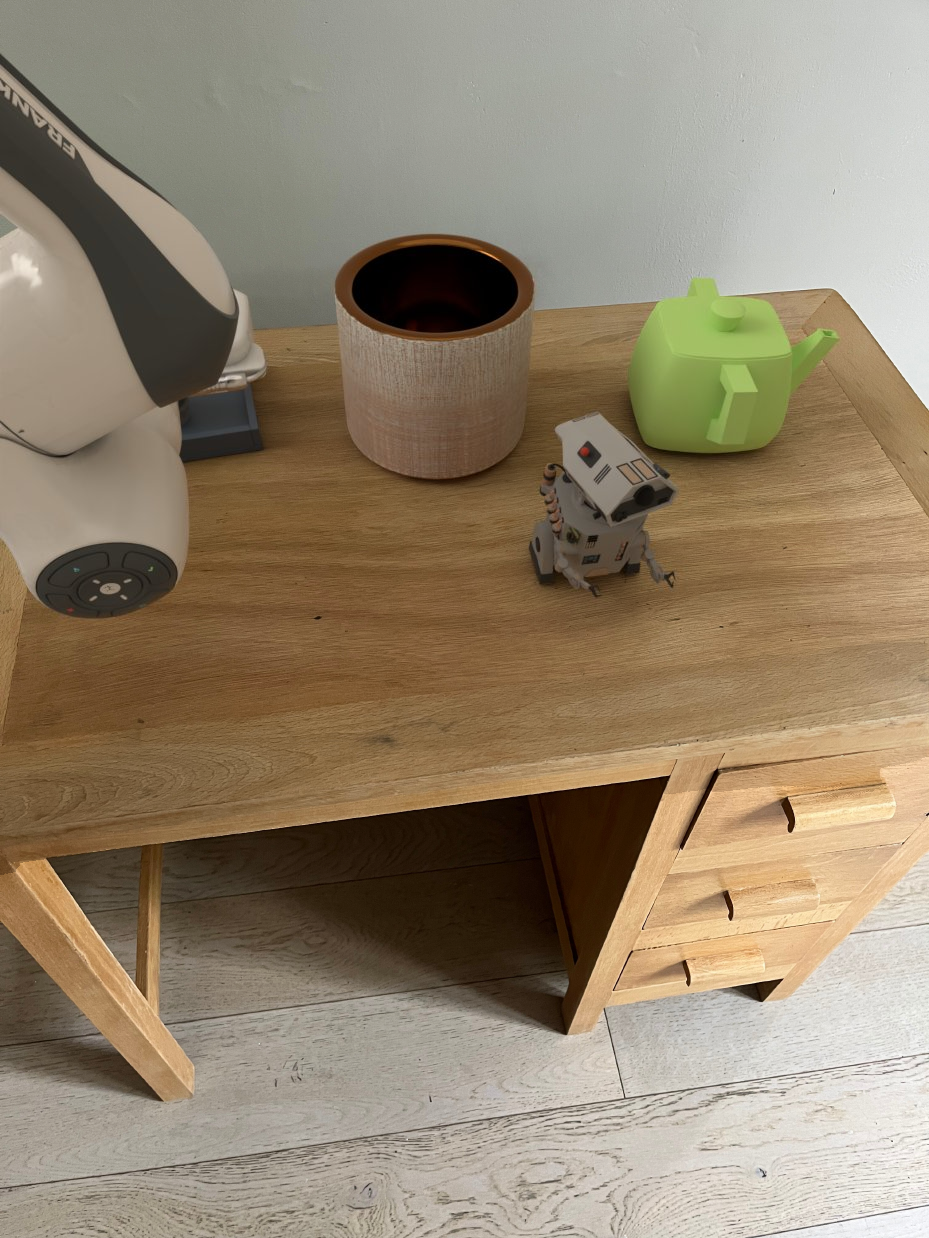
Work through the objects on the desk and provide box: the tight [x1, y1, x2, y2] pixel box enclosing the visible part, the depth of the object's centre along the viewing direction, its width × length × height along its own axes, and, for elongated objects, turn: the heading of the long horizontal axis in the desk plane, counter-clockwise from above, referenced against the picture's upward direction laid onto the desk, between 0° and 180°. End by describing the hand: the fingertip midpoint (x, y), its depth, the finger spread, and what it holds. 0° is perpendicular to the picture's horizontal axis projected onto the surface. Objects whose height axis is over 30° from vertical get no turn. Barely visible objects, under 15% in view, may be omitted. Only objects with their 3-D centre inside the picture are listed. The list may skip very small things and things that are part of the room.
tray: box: [179, 382, 264, 463], centre depth 85 cm, size 18×14×3 cm
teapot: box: [627, 277, 840, 454], centre depth 83 cm, size 18×20×13 cm
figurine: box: [528, 411, 680, 599], centre depth 68 cm, size 9×12×15 cm
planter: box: [333, 233, 536, 480], centre depth 80 cm, size 18×18×16 cm
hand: (102, 288), depth 62 cm, fingers open, 8 cm apart
